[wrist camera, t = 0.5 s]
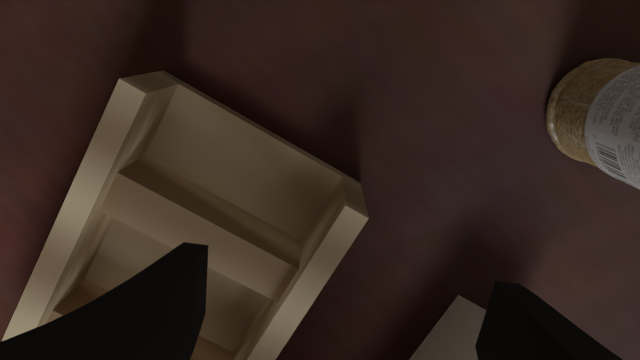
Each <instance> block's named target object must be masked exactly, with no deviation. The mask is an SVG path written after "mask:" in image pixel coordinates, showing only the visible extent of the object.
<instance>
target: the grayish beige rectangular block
mask: <svg viewBox="0 0 640 360" xmlns="http://www.w3.org/2000/svg"><path fill="white" fill-rule="evenodd" d="M485 313H486V310H485V309H483V308H481V307H480V306H478V305H476V304H474V303H472V302H470V301H469V300H467V299H465V298H463V297H461V296H460V295H458V296H457V297H456V299H455V300H454V301H453V303H452V304H451V305H450V307H449V308H448V309H447V310H446V312H445V313H444V314H443V316H442V317H441V318H440V320H439V321H438V322H437V324H436V325H435V326H434V328H433V329H432V330H431V332H430V333H429V334H428V336H427V337H426V338H425V339H424V341H423V342H422V343H421V345H420V346H419V347H418V349H417V350H416V351H415V353H414V354H413V355H412V357H411V358H410V359H409V360H478V357H477V353H476V348H475V345H476V342H477V338H478V335H479V332H480V329H481V326H482V323H483V320H484V316H485Z"/></svg>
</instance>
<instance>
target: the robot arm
mask: <svg viewBox="0 0 640 360" xmlns="http://www.w3.org/2000/svg"><path fill="white" fill-rule="evenodd" d="M207 267H208V245H203V244H195V243H187V242H183V243H182V244H180V245H179V246H177V247H176V248H174V249H173V250H171V251H170V252H168V253H167V254H166V255H164V256H163V257H161V258H160V259H158V260H157V261H155V262H154V263H153V264H151V265H150V266H148V267H147V268H145V269H144V270H142V271H141V272H139V273H138V274H136V275H135V276H133V277H132V278H130V279H128V280H127V281H125V282H123V283H122V284H120V285H118V286H117V287H115V288H113V289H112V290H110V291H108V292H106V293H105V294H103V295H101V296H100V297H98V298H96V299H95V300H93V301H91V302H89V303H87V304H85V305H83V306H82V307H80V308H78V309H76V310H74V311H72V312H70V313H67V314H65V315H63V316H61V317H59V318H57V319H55V320H53V321H51V322H48V323H46V324H44V325H42V326H39V327H37V328H34V329H32V330H29V331H27V332H24V333H22V334H19V335H17V336H14V337H12V338H9V339H7V340H4V341H2V342H0V360H190V358H191V356H192V353H193V351H194V349H195V345H196V342H197V339H198V336H199V333H200V330H201V326H202V323H203V320H204V316H205V313H206V290H207ZM475 348H476V353H477V357H478V360H622V359H621V358H619V357H618V356H617V355H615V354H614V353H612V352H611V351H609V350H608V349H607V348H605V347H604V346H603V345H601V344H600V343H598V342H597V341H596V340H594V339H593V338H592V337H590V336H589V335H588V334H586V333H585V332H584V331H582V330H581V329H580V328H578V327H577V326H576V325H575V324H573V323H572V322H571V321H569V320H568V319H567V318H565V317H564V316H563V315H562V314H560V313H559V312H558V311H556V310H555V309H554V308H552V307H551V306H550V305H549V304H547V303H546V302H545V301H543V300H542V299H541V298H539V297H538V296H537V295H535V294H534V293H532V292H531V291H530V290H528V289H527V288H525V287H523V286H522V285H520V284H514V283H506V282H498V281H496V282H495V285H494V288H493V291H492V294H491V297H490V301H489V304H488V307H487V310H486V313H485V316H484V320H483V323H482V326H481V329H480V332H479V335H478V338H477V342H476V345H475Z"/></svg>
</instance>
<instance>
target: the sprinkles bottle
mask: <svg viewBox="0 0 640 360" xmlns="http://www.w3.org/2000/svg"><path fill="white" fill-rule="evenodd" d="M546 125H547V131H548V133H549V135H550V137H551V139H552V141H553V142H554V143H555V144H556V146H557V148H558V149H559V150H560V151H561V152H562V153H564V154H566V155H567V156H569V157H571V158H573V159H575V160H578V161H582V162H587V163H589V164H591V165H594V166H596V167H599V168H600V169H601V170H603V171H604V172H605V173H607V174H609V175H611V176H612V177H615V178H617V179H619V180H621V181H623V182H625V183H627V184H629V185H631V186H633V187H635V188H637V189H639V190H640V63H634V62H629V61H625V60H622V59H615V58H603V59H597V60H592V61H588V62H585V63H583V64H581V65H580V66H578V67H577V68H575V69H573V70H572V71H570V72H569V73H568V74H567V75H566V76H564V77H563V78H562V79H561V81H560V82H559V83H558V84H557V86H556V87H555V89H554V90H553V91H552V94H551V96H550V99H549V101H548V107H547V111H546Z"/></svg>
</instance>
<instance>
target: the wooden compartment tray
mask: <svg viewBox="0 0 640 360" xmlns="http://www.w3.org/2000/svg"><path fill="white" fill-rule="evenodd" d="M368 219H369V217H368V213H367V208H366V204H365V200H364V195H363V191H362V186H361V183H360V182H359V181H357V180H355V179H353V178H352V177H350V176H348V175H346V174H344V173H343V172H341V171H339V170H337V169H336V168H334V167H332V166H330V165H329V164H327V163H325V162H323V161H322V160H320V159H318V158H316V157H315V156H313V155H311V154H309V153H308V152H306V151H304V150H302V149H301V148H299V147H297V146H295V145H294V144H292V143H290V142H288V141H287V140H285V139H283V138H281V137H280V136H278V135H276V134H274V133H273V132H271V131H269V130H267V129H266V128H264V127H262V126H260V125H259V124H257V123H255V122H253V121H252V120H250V119H248V118H246V117H245V116H243V115H241V114H239V113H238V112H236V111H234V110H232V109H231V108H229V107H227V106H225V105H224V104H222V103H220V102H218V101H217V100H215V99H213V98H211V97H210V96H208V95H206V94H204V93H203V92H201V91H199V90H197V89H196V88H194V87H192V86H190V85H188V84H187V83H185V82H183V81H181V80H180V79H178V78H176V77H174V76H173V75H171V74H169V73H167V72H166V71H164V70H163V71H158V72H152V73H147V74H141V75H136V76H130V77H125V78H119V80H118V82H117V84H116V86H115V89H114V91H113V93H112V95H111V98H110V100H109V102H108V104H107V107H106V109H105V111H104V113H103V115H102V118H101V120H100V122H99V124H98V127H97V129H96V131H95V133H94V136H93V138H92V140H91V142H90V145H89V147H88V149H87V151H86V154H85V156H84V158H83V160H82V162H81V165H80V167H79V169H78V171H77V174H76V176H75V178H74V180H73V183H72V185H71V187H70V189H69V192H68V194H67V196H66V198H65V201H64V203H63V205H62V207H61V209H60V212H59V214H58V216H57V218H56V221H55V223H54V225H53V227H52V230H51V232H50V234H49V236H48V239H47V241H46V243H45V245H44V248H43V250H42V252H41V254H40V257H39V259H38V261H37V263H36V265H35V268H34V270H33V272H32V274H31V277H30V279H29V281H28V283H27V286H26V288H25V290H24V292H23V295H22V297H21V299H20V301H19V304H18V306H17V308H16V310H15V312H14V315H13V317H12V319H11V321H10V324H9V326H8V328H7V330H6V333H5V335H4V337H3V339H2V341H4V340H7V339H9V338H12V337H14V336H17V335H19V334H22V333H24V332H27V331H29V330H32V329H34V328H37V327H39V326H42V325H44V324H46V323H48V322H51V321H53V320H55V319H57V318H59V317H61V316H63V315H65V314H67V313H70V312H72V311H74V310H76V309H78V308H80V307H82V306H83V305H85V304H87V303H89V302H91V301H93V300H95V299H96V298H98V297H100V296H101V295H103V294H105V293H106V292H108V291H110V290H112V289H113V288H115V287H117V286H118V285H120V284H122V283H123V282H125V281H127V280H128V279H130V278H132V277H133V276H135V275H136V274H138V273H139V272H141V271H142V270H144V269H145V268H147V267H148V266H150V265H151V264H153V263H154V262H155V261H157V260H158V259H160V258H161V257H163V256H164V255H166V254H167V253H168V252H170V251H171V250H173V249H174V248H176V247H177V246H179V245H180V244H182V243H183V242H187V243H195V244H203V245H208V267H207V290H206V313H205V316H204V320H203V323H202V326H201V330H200V333H199V336H198V339H197V342H196V345H195V349H194V351H193V353H192V356H191V358H190V360H276V358H277V357H278V355H279V354H280V352H281V351H282V349H283V348H284V346H285V345H286V343H287V342H288V340H289V339H290V337H291V336H292V334H293V332H294V331H295V329H296V328H297V326H298V325H299V323H300V322H301V320H302V319H303V317H304V316H305V314H306V313H307V311H308V310H309V308H310V307H311V305H312V304H313V302H314V301H315V299H316V298H317V296H318V295H319V293H320V292H321V290H322V289H323V287H324V286H325V284H326V283H327V281H328V279H329V278H330V276H331V275H332V273H333V272H334V270H335V269H336V267H337V266H338V264H339V263H340V261H341V260H342V258H343V257H344V255H345V254H346V252H347V251H348V249H349V248H350V246H351V245H352V243H353V242H354V240H355V239H356V237H357V236H358V234H359V233H360V231H361V230H362V228H363V226H364V225H365V223H366V222H367V220H368Z"/></svg>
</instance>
